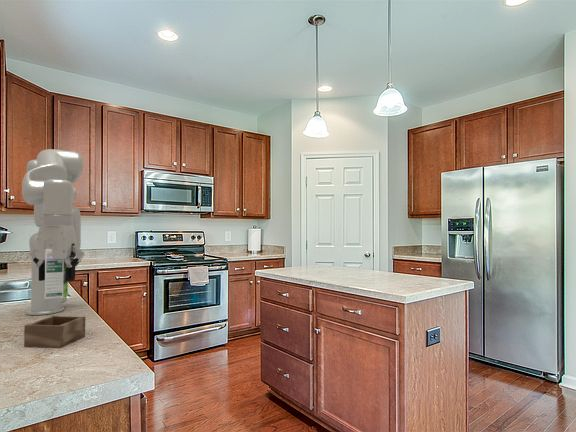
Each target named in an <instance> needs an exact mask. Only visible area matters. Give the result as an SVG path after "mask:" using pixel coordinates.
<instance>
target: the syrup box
mask: <svg viewBox="0 0 576 432" xmlns="http://www.w3.org/2000/svg"><path fill="white" fill-rule="evenodd" d="M52 252H53V251H52V249H46V250H45V294H44V299H53V298H68V295H69V281H66V280H65V277H66V268H68V266H67V264H66V263H65V261H64V260H55V259H52Z"/></svg>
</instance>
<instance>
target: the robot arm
mask: <svg viewBox="0 0 576 432" xmlns="http://www.w3.org/2000/svg"><path fill="white" fill-rule="evenodd" d="M83 170H84V160H83V157H82V155H81V154H80V153H79V152H77V151H74V150H73V151H71V150H62V149H61V150H60V149H54V148H53V149H51V148H50V149H48V148H47V149H44V150H41V151H40V152H38V154H37V156H36V159H31V160H28V162H27V163H26V172H25V174H24V176H23V178H22V183H21V195H22V199H23V201H24V202H25V204H28V205H31V206H33V220H34V224H35V226H36V227H37V228H38V232H35V233H33V234H32V235H30V237H29V240H28V241H29V242H28V244H29V252H30V253H29V255H30V258H31V263H30V265H31V278H30V279H31V282H30V283H31V284H30V285H31V286H30V288H31V290H30V291H31V292H30V308H28V309H26V311H25V314H26V315H28V316H29V315H30V316H44V315H51V314H56V313H61V312H62V311H64V310H65V306H64V305H62V304H63V303H66V302H67V301H68V299H67V298H68V297H67V298H53V299H44V294H45V250H46V249H52V251H53V252H52V259H55V260H64V261H65V263H66V264H67V266H68V268H66V277H65V280H66V281H68V282H72V281H75V280H76V279H75V278H76V268H77V267H78V265H79V263H80V262H81V261H82V259H83V258H84V256H85V254H86V253H85V252H84V251H83V250H81V247H82V246H81V243H82V237H81V235H82V234H81V233H82V232H81V231H82V228H81V227H82V223H81V222H82V219H81V212H80V209H79V207H78V206H76V205H73V204H74V202H75V201H76V200H77V188H76V187H75V186H74V185H73V183H77V182H78V181H79V179H80V178H81V175H82V173H83Z"/></svg>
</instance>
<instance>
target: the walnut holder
mask: <svg viewBox="0 0 576 432" xmlns="http://www.w3.org/2000/svg"><path fill="white" fill-rule="evenodd" d="M23 327H24V333H23V334H24V335H23V336H24V337H23V338H24V339H23V340H24V341H23V346H24V348H46V349H47V348H48V349H62V348H63V347H65V346H69V344H71V343H74V342H76V341H78V340H80V339H83V338H85V337H86V316H71V315H70V316H66V315H65V316H64V315H61V316H60V315H59V316H58V315H52V316H49V317H45V318H43V319H40V320H37V321H35V322H30V323H29V324H25V325H24V326H23Z"/></svg>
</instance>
